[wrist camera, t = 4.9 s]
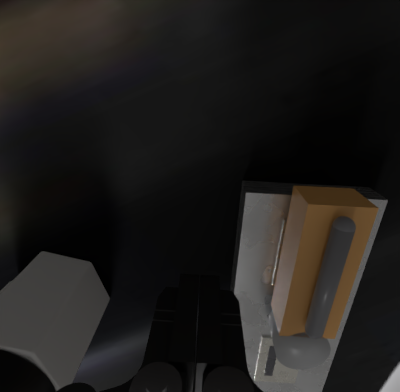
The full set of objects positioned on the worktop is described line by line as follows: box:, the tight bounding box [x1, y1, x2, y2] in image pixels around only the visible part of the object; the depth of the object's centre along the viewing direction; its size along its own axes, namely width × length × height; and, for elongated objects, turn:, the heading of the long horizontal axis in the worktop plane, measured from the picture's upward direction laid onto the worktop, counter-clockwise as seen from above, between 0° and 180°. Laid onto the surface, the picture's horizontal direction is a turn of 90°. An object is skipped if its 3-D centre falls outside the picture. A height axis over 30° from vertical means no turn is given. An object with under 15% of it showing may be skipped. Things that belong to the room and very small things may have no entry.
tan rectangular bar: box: [268, 185, 379, 370], centre depth 19 cm, size 14×4×4 cm, turn 177°
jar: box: [0, 251, 110, 392], centre depth 21 cm, size 9×8×12 cm
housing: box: [230, 181, 388, 392], centre depth 25 cm, size 22×10×3 cm, turn 177°
